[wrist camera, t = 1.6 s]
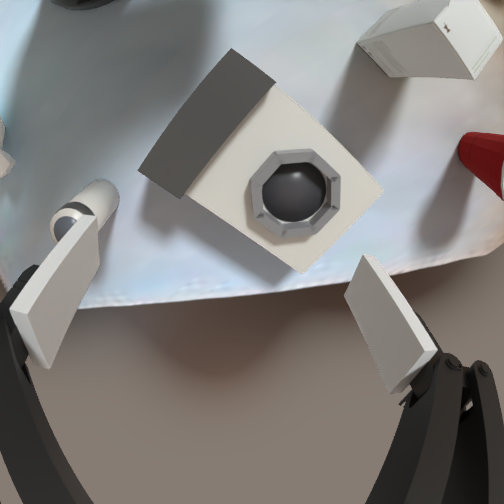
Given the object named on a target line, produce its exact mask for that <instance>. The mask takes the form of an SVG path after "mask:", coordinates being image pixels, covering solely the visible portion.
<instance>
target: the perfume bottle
mask: <svg viewBox="0 0 504 504" xmlns="http://www.w3.org/2000/svg"><path fill="white" fill-rule="evenodd" d="M4 134H5V126H4V123H3V121H2V118H1V115H0V177H1V178H2V177H4V176H6V175H8V173H9V172H10V170H11V169H12V167H13V166H14V164H15V163H16V161H15V160H14V159H13V158H12V157H11V156H10V155H9V154H8V153H7V152H4V151H3V150H2V145H3V139H4Z"/></svg>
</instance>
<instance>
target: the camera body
mask: <svg viewBox="0 0 504 504" xmlns="http://www.w3.org/2000/svg"><path fill="white" fill-rule="evenodd" d="M275 83H276V82H275V81H274V80H273V79H272V78H270V77H269V76H268V75H267V74H265V73H264V72H263V71H261V70H260V69H259V68H258V67H256V66H255V65H254V64H252V63H251V62H250V61H248V60H247V59H246V58H244V57H243V56H242V55H240V54H239V53H237V52H236V51H235V50H233V49H232V48H231V49H230V50H229V51H228V52H227V53H226V55H225V56H224V57H223V58H222V59H221V60H220V61H219V62H218V63H217V65H216V66H215V67H214V68H213V69H212V70H211V72H210V73H209V74H208V75H207V76H206V77H205V79H204V80H203V81H202V82H201V83H200V85H199V86H198V87H197V88H196V90H195V91H194V92H193V93H192V95H191V96H190V97H189V98H188V100H187V101H186V102H185V104H184V105H183V106H182V107H181V109H180V110H179V111H178V113H177V114H176V115H175V117H174V118H173V119H172V121H171V122H170V124H169V125H168V126H167V128H166V129H165V130H164V132H163V133H162V135H161V136H160V138H159V139H158V140H157V142H156V143H155V145H154V146H153V148H152V149H151V151H150V152H149V154H148V155H147V157H146V158H145V160H144V161H143V163H142V164H141V166H140V168H139V169H138V171H139V172H140V173H142V174H143V175H145V176H146V177H148V178H149V179H151V180H152V181H154V182H155V183H157V184H158V185H160V186H161V187H163V188H164V189H165V190H167V191H168V192H170V193H171V194H173V195H174V196H176V197H177V198H179V199H181V197H182V196H183V195H184V193H185V194H186V195H188V196H189V197H190V198H192V199H193V200H195V201H196V202H198V203H199V204H201V205H202V206H204V207H205V208H207V209H208V210H210V211H211V212H212V213H214V214H215V215H217V216H218V217H220V218H221V219H223V220H224V221H226V222H227V223H228V224H230V225H231V226H233V227H234V228H236V229H237V230H239V231H240V232H242V233H243V234H244V235H246V236H247V237H249V238H250V239H252V240H253V241H255V242H256V243H258V244H259V245H260V246H262V247H263V248H265V249H266V250H268V251H269V252H271V253H272V254H273V255H275V256H276V257H278V258H279V259H281V260H282V261H283V262H285V263H286V264H288V265H289V266H291V267H292V268H294V269H295V270H296V271H298V272H299V273H301V274H304V273H305V272H306V271H307V270H308V269H309V268H310V267H311V266H312V265H313V264H314V263H315V262H316V261H317V260H318V259H319V258H320V257H321V256H322V255H323V254H324V253H325V252H326V251H327V250H328V249H329V248H330V247H331V246H332V245H333V244H334V243H335V242H336V241H337V240H338V239H339V238H340V237H341V236H342V235H343V234H344V233H345V232H346V231H347V230H348V229H349V228H350V227H351V226H352V225H353V224H354V223H355V222H356V221H357V220H358V219H359V218H360V217H361V215H362V214H363V213H364V212H365V211H366V210H367V209H368V208H369V207H370V206H371V205H372V204H373V203H374V202H375V201H376V200H377V199H378V198H379V197H380V196H381V194H382V193H383V192H384V190H383V189H382V187H381V186H380V185H379V184H378V183H377V182H376V181H375V179H374V178H373V177H372V176H371V175H370V174H369V173H368V172H367V171H366V170H365V169H364V167H363V166H362V165H361V164H360V163H359V162H358V161H357V160H356V159H355V158H354V157H353V156H352V155H351V154H350V153H349V152H348V151H347V150H346V149H345V148H344V147H343V146H342V145H341V144H340V143H339V142H338V141H337V140H336V139H335V138H334V137H333V136H332V135H331V134H330V133H329V132H328V131H327V130H326V129H325V128H324V127H323V126H322V125H321V124H320V123H319V122H317V121H316V120H315V119H314V118H313V117H312V116H311V115H310V114H309V113H308V112H307V111H305V110H304V109H303V108H302V107H301V106H300V105H299V104H297V103H296V102H295V101H294V100H293V99H292V98H290V97H289V96H288V95H287V94H286V93H285V92H283V91H282V90H281V89H280V88H279V87H277V86H276V85H275Z"/></svg>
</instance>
